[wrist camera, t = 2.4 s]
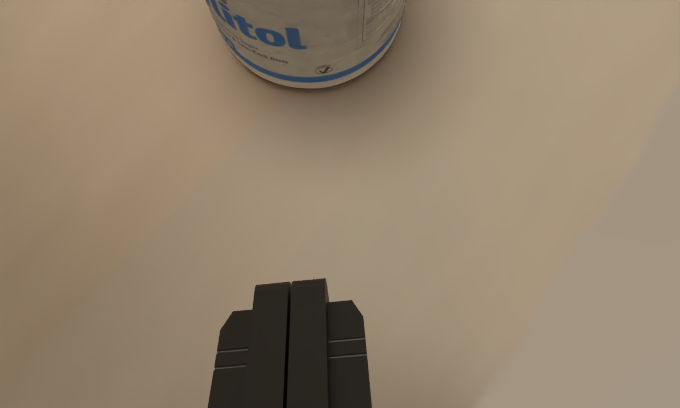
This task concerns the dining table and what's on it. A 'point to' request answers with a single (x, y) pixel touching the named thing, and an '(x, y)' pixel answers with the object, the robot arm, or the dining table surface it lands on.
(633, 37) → the dining table surface
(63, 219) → the dining table surface
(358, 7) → the supplement tub
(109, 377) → the dining table surface
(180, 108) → the dining table surface
